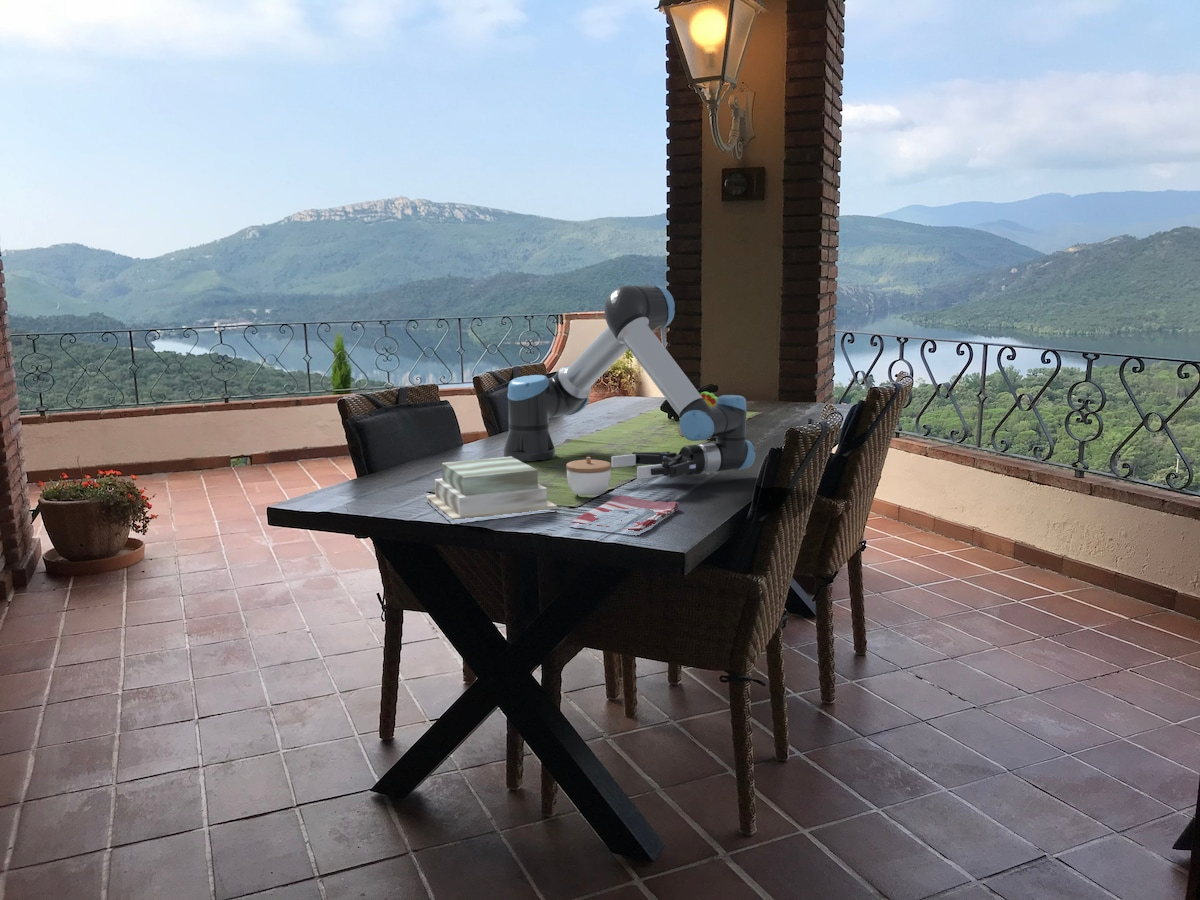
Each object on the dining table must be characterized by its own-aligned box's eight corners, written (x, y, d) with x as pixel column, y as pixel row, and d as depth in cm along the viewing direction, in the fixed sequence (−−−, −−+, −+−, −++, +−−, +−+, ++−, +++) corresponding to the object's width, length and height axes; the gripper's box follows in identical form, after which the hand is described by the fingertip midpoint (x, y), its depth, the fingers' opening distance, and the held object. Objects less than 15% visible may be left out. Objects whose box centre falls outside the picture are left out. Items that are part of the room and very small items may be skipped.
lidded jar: (578, 502, 205) (578, 463, 203) (559, 493, 214) (558, 455, 213) (619, 497, 210) (618, 459, 208) (598, 488, 219) (598, 451, 217)
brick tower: (426, 501, 206) (424, 462, 204) (522, 491, 216) (521, 453, 215) (452, 525, 187) (451, 481, 185) (556, 512, 197) (556, 470, 195)
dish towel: (680, 512, 199) (681, 500, 198) (640, 539, 178) (640, 526, 177) (613, 504, 206) (613, 493, 205) (566, 529, 185) (566, 517, 185)
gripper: (725, 483, 214) (649, 492, 205) (673, 464, 236) (602, 472, 227) (726, 453, 212) (649, 461, 203) (673, 437, 234) (602, 443, 225)
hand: (624, 467), depth 215 cm, fingers open, 13 cm apart
